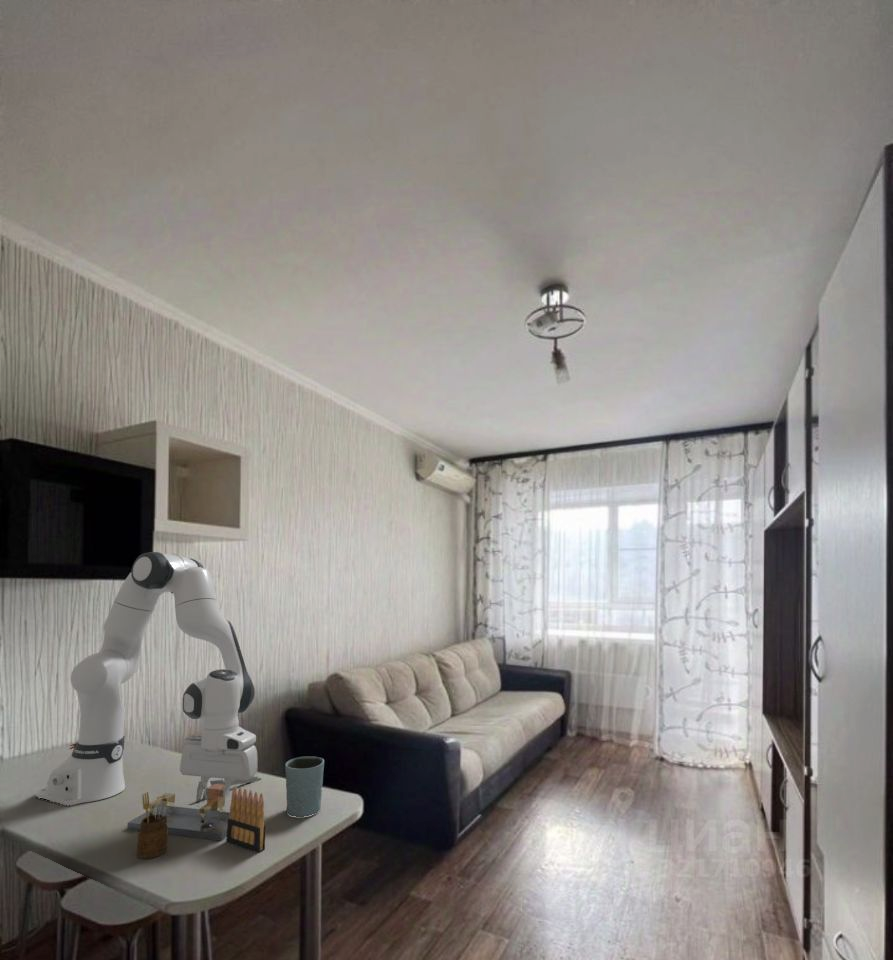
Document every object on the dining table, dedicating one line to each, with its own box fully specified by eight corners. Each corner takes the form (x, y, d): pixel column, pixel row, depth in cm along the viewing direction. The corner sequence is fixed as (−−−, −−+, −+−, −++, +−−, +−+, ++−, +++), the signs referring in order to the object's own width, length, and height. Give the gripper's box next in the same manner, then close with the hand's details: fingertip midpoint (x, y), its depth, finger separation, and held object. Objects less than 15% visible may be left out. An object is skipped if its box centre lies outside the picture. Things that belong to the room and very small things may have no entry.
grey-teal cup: (299, 823, 138) (301, 771, 140) (274, 812, 144) (277, 763, 146) (331, 809, 146) (332, 760, 148) (306, 799, 152) (307, 753, 154)
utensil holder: (151, 861, 120) (155, 802, 122) (129, 856, 122) (133, 798, 124) (172, 848, 126) (176, 791, 127) (151, 844, 128) (155, 788, 130)
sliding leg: (195, 822, 134) (197, 794, 135) (213, 810, 141) (215, 783, 142) (206, 824, 133) (208, 795, 134) (224, 811, 140) (225, 784, 141)
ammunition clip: (265, 849, 125) (267, 792, 127) (258, 853, 124) (261, 795, 125) (232, 838, 130) (235, 783, 132) (225, 842, 129) (228, 786, 131)
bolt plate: (127, 829, 135) (128, 807, 136) (156, 811, 145) (158, 791, 145) (221, 840, 129) (222, 817, 130) (246, 821, 139) (247, 800, 140)
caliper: (198, 803, 150) (199, 779, 151) (196, 802, 151) (197, 778, 152) (261, 780, 167) (262, 758, 168) (258, 779, 167) (259, 757, 168)
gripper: (176, 738, 141) (172, 796, 139) (248, 743, 137) (245, 804, 134) (192, 731, 147) (189, 787, 145) (262, 736, 143) (259, 793, 140)
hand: (216, 795), depth 140 cm, fingers closed on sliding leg, 3 cm apart
